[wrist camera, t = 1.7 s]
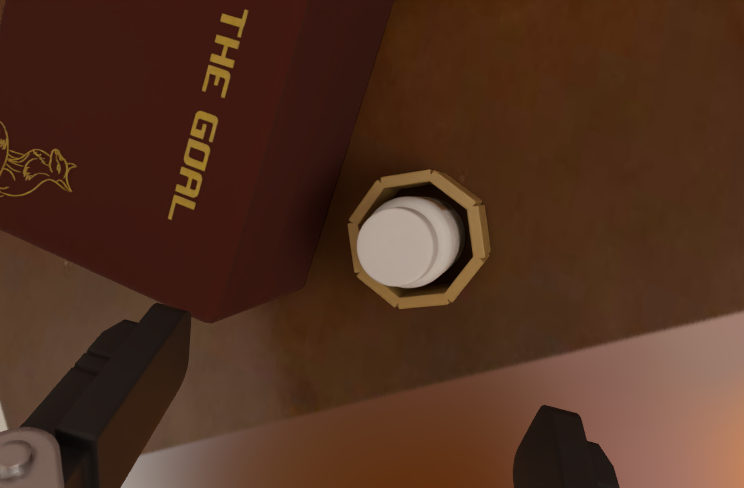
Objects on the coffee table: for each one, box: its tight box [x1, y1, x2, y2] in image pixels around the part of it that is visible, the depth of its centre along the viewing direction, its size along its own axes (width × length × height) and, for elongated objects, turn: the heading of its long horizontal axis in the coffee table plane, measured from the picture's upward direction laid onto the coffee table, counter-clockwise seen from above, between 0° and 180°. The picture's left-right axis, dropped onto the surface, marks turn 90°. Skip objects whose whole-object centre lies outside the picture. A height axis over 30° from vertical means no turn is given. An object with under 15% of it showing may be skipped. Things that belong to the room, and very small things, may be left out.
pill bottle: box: [357, 196, 465, 288], centre depth 28 cm, size 4×4×8 cm
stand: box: [348, 169, 491, 309], centre depth 30 cm, size 7×7×4 cm
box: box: [0, 0, 394, 323], centre depth 29 cm, size 21×16×10 cm
